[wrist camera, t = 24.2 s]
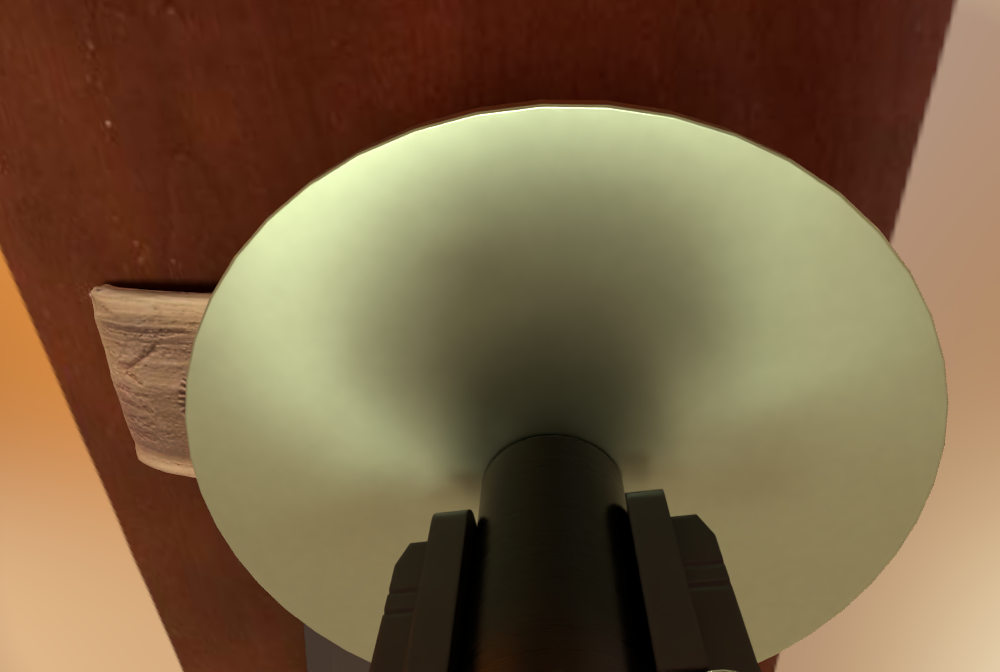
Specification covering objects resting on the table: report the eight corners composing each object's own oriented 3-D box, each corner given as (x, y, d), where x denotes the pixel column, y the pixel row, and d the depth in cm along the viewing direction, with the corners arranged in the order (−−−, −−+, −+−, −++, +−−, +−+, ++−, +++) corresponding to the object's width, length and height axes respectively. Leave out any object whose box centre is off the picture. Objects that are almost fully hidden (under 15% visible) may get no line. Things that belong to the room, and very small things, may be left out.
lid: (977, 2, 10) (1794, 23, 3) (881, 645, 17) (1082, 1026, 11) (73, 181, 12) (-451, 398, 5) (335, 684, 19) (237, 1022, 13)
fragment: (105, 223, 31) (27, 253, 27) (416, 233, 30) (388, 266, 25) (165, 442, 37) (107, 497, 33) (429, 460, 35) (408, 521, 31)
